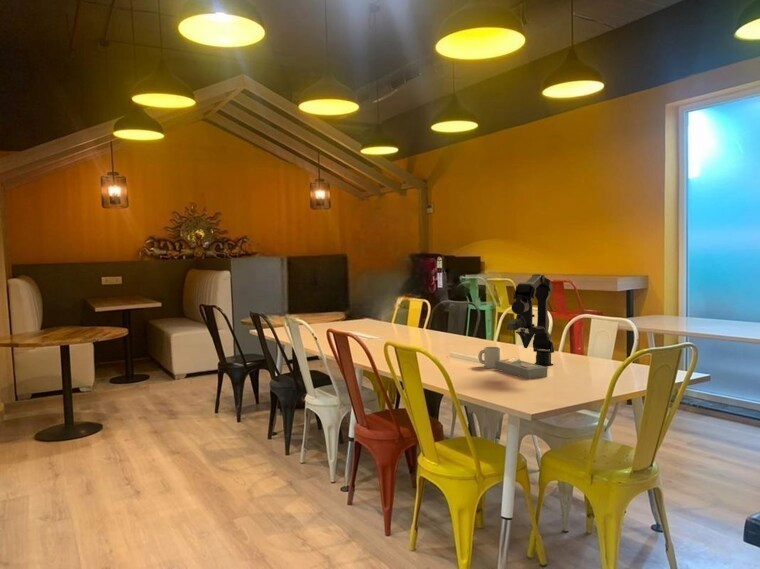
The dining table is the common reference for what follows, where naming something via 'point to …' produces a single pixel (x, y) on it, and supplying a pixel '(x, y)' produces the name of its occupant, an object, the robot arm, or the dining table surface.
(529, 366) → the rocker
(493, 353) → the cup
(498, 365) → the grey rocker switch panel
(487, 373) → the dining table surface
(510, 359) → the rocker
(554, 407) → the dining table surface
